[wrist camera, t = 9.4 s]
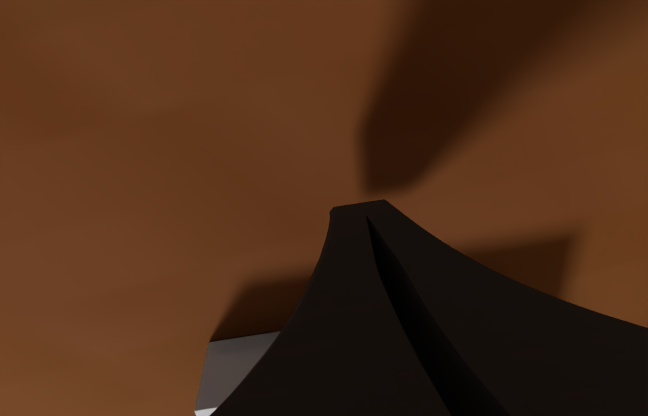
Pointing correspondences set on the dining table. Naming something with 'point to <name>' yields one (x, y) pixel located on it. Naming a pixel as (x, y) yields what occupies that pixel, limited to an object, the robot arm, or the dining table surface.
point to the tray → (228, 368)
